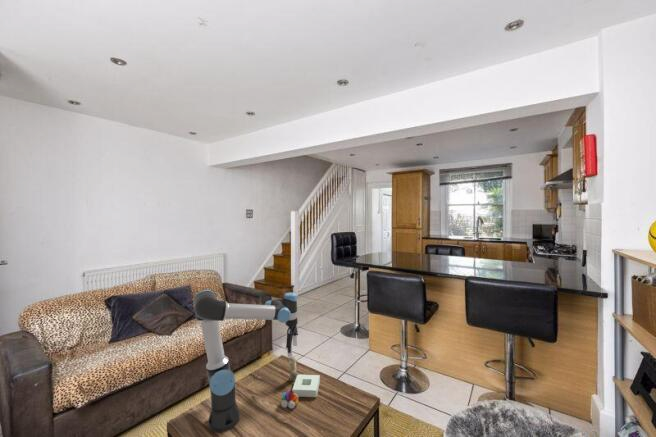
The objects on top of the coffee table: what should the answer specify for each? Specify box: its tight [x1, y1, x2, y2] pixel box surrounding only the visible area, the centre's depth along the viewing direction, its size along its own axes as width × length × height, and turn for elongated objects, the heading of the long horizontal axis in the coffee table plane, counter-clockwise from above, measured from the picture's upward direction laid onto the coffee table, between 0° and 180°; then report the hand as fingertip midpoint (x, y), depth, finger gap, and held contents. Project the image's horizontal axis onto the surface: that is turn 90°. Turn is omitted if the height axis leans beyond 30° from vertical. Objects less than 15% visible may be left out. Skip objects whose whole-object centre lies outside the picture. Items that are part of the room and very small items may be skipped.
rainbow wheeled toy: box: [280, 390, 299, 410], centre depth 152 cm, size 8×10×7 cm
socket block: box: [291, 373, 321, 398], centre depth 164 cm, size 14×14×4 cm
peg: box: [288, 355, 297, 383], centre depth 173 cm, size 4×4×14 cm
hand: (292, 351), depth 172 cm, fingers open, 13 cm apart
